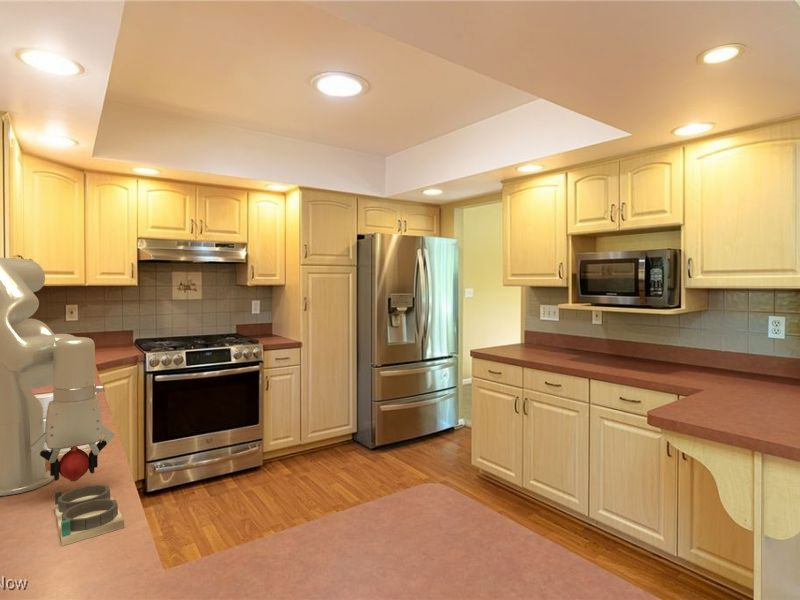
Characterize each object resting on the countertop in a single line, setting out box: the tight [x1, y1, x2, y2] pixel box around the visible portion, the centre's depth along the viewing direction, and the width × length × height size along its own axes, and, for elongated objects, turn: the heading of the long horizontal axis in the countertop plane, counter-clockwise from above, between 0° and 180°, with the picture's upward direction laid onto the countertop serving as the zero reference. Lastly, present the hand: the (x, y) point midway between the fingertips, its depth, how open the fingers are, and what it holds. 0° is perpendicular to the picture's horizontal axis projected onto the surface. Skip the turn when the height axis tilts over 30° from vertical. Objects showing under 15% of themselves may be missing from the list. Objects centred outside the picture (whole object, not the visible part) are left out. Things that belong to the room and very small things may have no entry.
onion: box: [59, 446, 90, 482], centre depth 105 cm, size 6×6×8 cm
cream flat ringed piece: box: [53, 484, 125, 547], centre depth 94 cm, size 18×10×4 cm, turn 39°
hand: (74, 474), depth 105 cm, fingers closed on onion, 5 cm apart
